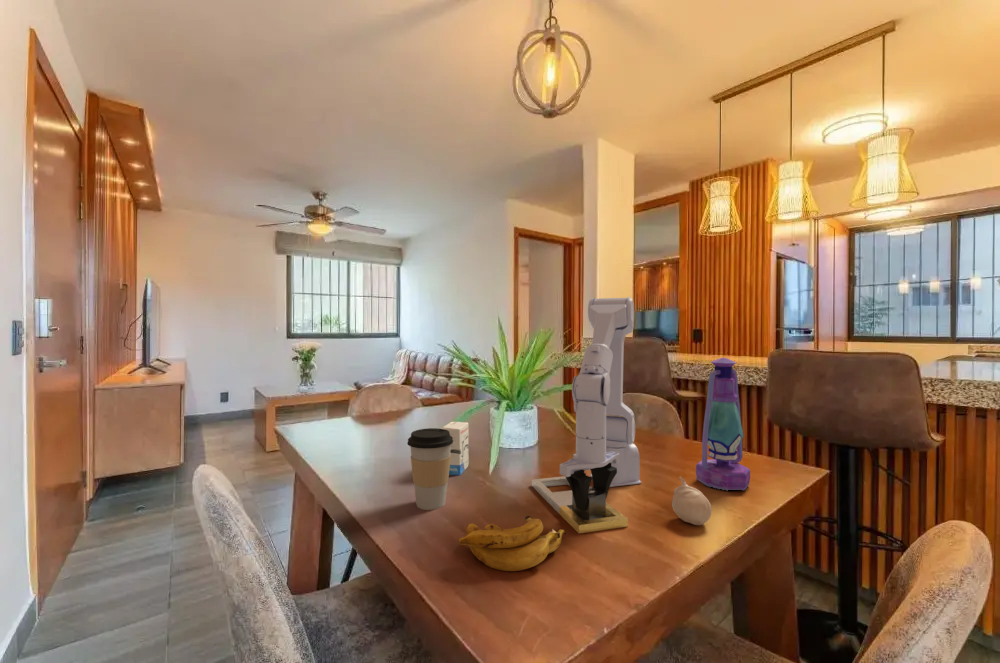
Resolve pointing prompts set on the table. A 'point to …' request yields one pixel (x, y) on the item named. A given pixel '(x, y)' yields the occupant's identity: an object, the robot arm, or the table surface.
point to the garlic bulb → (691, 504)
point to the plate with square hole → (564, 507)
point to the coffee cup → (430, 466)
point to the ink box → (458, 447)
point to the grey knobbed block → (592, 505)
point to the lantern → (723, 432)
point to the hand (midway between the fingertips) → (590, 505)
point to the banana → (511, 544)
